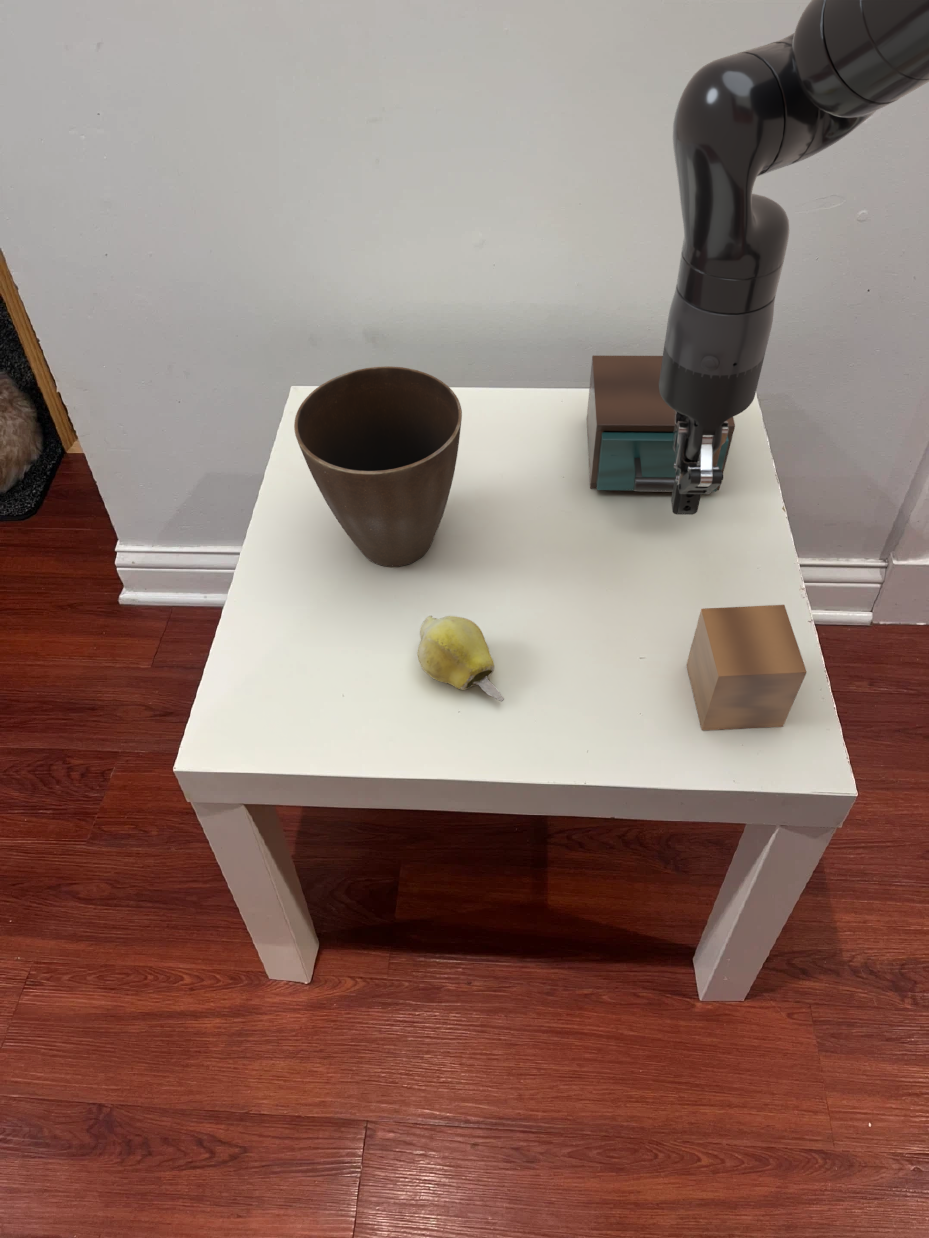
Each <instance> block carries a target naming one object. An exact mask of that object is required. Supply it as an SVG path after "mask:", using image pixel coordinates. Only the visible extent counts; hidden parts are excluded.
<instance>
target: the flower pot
mask: <svg viewBox="0 0 929 1238" xmlns="http://www.w3.org/2000/svg"><path fill="white" fill-rule="evenodd" d="M301 402H302V403H300V406H299V407H298V409H297V412H296V413H295V417H294V423H293V429H294V436H295V438H296V441H297V444H298V446H299V448H300V451H301V453H302V455H303V458H304V461H305V463H306V466H307V468H308V470H309V472H310V475H311V476H312V479H313V480H314V482H315V484H316V486H317V488H318V490H319V492H320V494H321V495H322V497H323V499H324V501H325V503H326V504H327V505H328V508H329V509H330V511H331V513H332V514H333V516H334V517H335V519H336V520H337V522H338V523H339V525H340V526H341V528H342V529H343V531H344V532H345V534H346V535H347V536H348V537H349V539H350V540H351V541H352V543H353V544H354V545H355V546H356V547H357V549H358V550H359V551H360V552H361V553H362V554H363V556H364V557H365V558H366V559H367V560H369V561H370V562H372V563H374V564H376V565H379V566H383V567H389V568H397V567H404V566H407V565H410V564H413V563H415V562H416V561H419V560H421V558H423V557H424V555H426V554H427V552H428V551H429V549H430V548H431V545H432V543H433V541H434V540H435V537H436V534H437V533H438V530H439V527H440V525H441V522H442V519H443V517H444V513H445V510H446V507H447V503H448V500H449V497H450V492H451V489H452V484H453V480H454V475H455V471H456V464H457V459H458V453H459V446H460V437H461V428H462V420H463V410H462V405H461V402H460V400H459V398H458V396H457V395H456V393H455V392H454V391H453V390H452V388H451V387H450V386H448V385H447V384H446V383H445V382H444V381H443V380H441V379H440V378H437V377H435V376H433V375H431V374H429V373H426V372H424V371H421V370H418V369H413V368H408V367H403V366H387V365H386V366H371V367H365V368H360V369H355V370H351V371H348V372H347V373H342V374H340V375H338V376H335V377H333V378H331V379H328V380H327V381H325V382H323V383H321V385H318V386H317V387H316V388H315V389H314V390H313V391H311V392H310V393H309V394H307V396H306V398H304V400H303V401H301Z"/></svg>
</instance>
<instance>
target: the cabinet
mask: <svg viewBox="0 0 929 1238" xmlns="http://www.w3.org/2000/svg"><path fill="white" fill-rule="evenodd" d="M662 358H663V355H595V354H593V355H592V356H591V366H590V376H589V387H588V400H587V409H586V410H587V411H586V433H587V435H586V436H587V451H588V452H587V454H588V455H587V456H588V474H589V488H590V489H594V490H597V473H598V464H599V455H600V446H601V436H602V432H604V431H666V432H674V426H675V420H674V414H673V412H674V410H673V409H672V408H671V407H669V406H668V405H667V404H666V403H665V401H664V400H663V398H662V397H661V395H660V391H659V379H660V372H661V365H662ZM727 422H728V440H729V442H728V446H727V450H726V454H725V458H724V462H723V466H722V474H723V475H724V472H725V470H726V466H727V465H726V464H727V460H728V456H729V453H730V447H731V444H732V440H733V436H734V432H735V428H736V423H735V418H734V417H732V418H730V419H728V420H727ZM720 488H721V485H719V486H718V487H717V491H720Z"/></svg>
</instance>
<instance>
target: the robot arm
mask: <svg viewBox="0 0 929 1238" xmlns="http://www.w3.org/2000/svg"><path fill="white" fill-rule="evenodd" d="M928 83H929V0H810V2H808V4H807V5H806V7H805V8H804V10H803V12H802V13H801V16H800V17H799V19H798V21H797V24H796V26H795V29H794V32H793V33H791V34H790V35H788V36H785V37H784V38H782V39H780V40H776V41H773V42H770V43H767V44H763V45H759V46H757V47H754V48H751V49H746V50H743V51H740V52H737V53H733V54H730V55H727V56H723V57H720V58H717V59H715V60H712V61H710V62H708V63H706V64H705V65H703V66H702V67H700V68H699V69H698V70H697V71H696V72H695V73H694V74H693V75H692V76H691V78H690V79H689V81H688V82H687V84H686V85H685V87H684V89H683V90H682V93H681V96H680V98H679V100H678V103H677V105H676V109H675V113H674V116H673V117H674V118H673V122H672V149H673V155H674V162H675V163H674V164H675V168H676V177H677V185H678V192H679V202H680V210H681V218H682V224H683V225H682V226H683V240H682V244H681V253H680V259H679V266H678V273H677V279H676V285H675V290H674V294H673V297H672V300H671V304H670V307H669V311H668V315H667V316H668V318H667V323H666V330H665V337H664V343H663V351H662V356H663V358H662V365H661V372H660V379H659V391H660V395H661V397H662V398H663V400H664V401H665V403H666V404H667V405H668V406H669V407H671V408H672V409H673V410H674V412H673V414H674V420H675V426H674V433H673V439H672V442H673V449H674V453H675V462H674V465H673V467H674V468H675V472H677V473H676V475H675V481H674V486H673V492H671V497H670V503H671V510H672V513H673V514H674V515H680V516H681V515H683V516H684V515H686V516H690V515H691V516H692V515H695V514H697V513H698V510H699V505H700V500H701V495H711V493H713V492H714V491H713V490H715V489H716V488H717V487H718V486H719V485H720V486H721V485H722V482H723V480H724V473H723V474H722V469H719V467H718V466H717V462H718V458H719V454H720V450H721V446H722V445H723V444H724V443H725V442H726V439H727V435H728V422H727V420H728V419H730V418H732V417H733V418H734V417H735V416H737V415H740V414H741V413H743V412H744V411H746V410H747V409H748V408H749V407H750V406H751V405H752V404H753V401H754V399H755V397H756V393H757V389H758V385H759V380H760V376H761V372H762V368H763V365H764V364H763V363H764V360H765V357H766V352H767V348H768V344H769V339H770V335H771V331H772V327H773V321H774V313H775V312H774V311H775V301H776V296H777V291H778V288H779V282H780V278H781V274H782V271H783V267H784V261H785V258H786V253H787V249H788V248H787V247H788V244H789V238H790V220H789V217H788V214H787V212H786V211H785V208H784V207H782V206H781V204H779V203H778V202H776V201H775V200H774V199H771V198H770V197H767V196H765V195H761V194H757V193H753V190H754V185H755V182H756V179H757V177H760V176H763V175H765V174H768V173H771V172H774V171H776V170H779V169H782V168H785V167H789V166H791V165H794V164H797V163H800V162H802V161H804V160H806V159H809V158H811V157H812V156H815V155H817V154H818V153H821V152H822V151H824V150H826V149H828V148H829V147H832V146H833V145H834V144H836V143H838V142H839V141H841V140H842V139H843V138H845V137H846V136H848V135H849V134H850V133H852V132H853V131H854V130H855V129H857V128H858V127H859V126H860V125H862V124H864V122H865V121H866V120H868V119H869V118H870V117H871V116H873V115H874V114H875V113H876V112H877V111H878V110H880V109H883V108H885V107H887V106H889V105H890V104H891V105H892V104H893V103H895V102H897V101H898V100H900V99H901V98H903V97H905V96H907V95H908V94H910V93H912V92H914V91H915V90H917V89H919V88H920V87H922V86H924V85H926V84H928Z"/></svg>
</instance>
